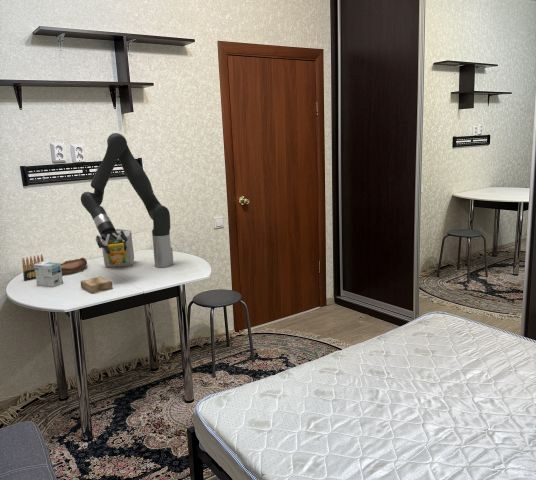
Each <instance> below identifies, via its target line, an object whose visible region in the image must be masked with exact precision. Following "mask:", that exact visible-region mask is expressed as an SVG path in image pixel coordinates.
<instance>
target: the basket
mask: <svg viewBox="0 0 536 480" xmlns="http://www.w3.org/2000/svg"><path fill="white" fill-rule="evenodd" d="M87 265H88V261H87V258H86V257H81V258H76V259H71V260H70V259H69V260H66V261H63V263H61V271H62V276H63V275H70V274H75V273H77V272H79V271H82V270H83V269H85V268H86V267H87Z"/></svg>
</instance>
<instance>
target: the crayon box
mask: <svg viewBox="0 0 536 480" xmlns="http://www.w3.org/2000/svg"><path fill="white" fill-rule="evenodd" d="M112 241H118V242H116V243H114V242H113V243H112ZM108 247H109V249H110V254H109V263H110V265H114V264H121V263H126V262H125V252H124V244H123V239H118V240H109V241H108Z"/></svg>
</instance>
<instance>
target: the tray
mask: <svg viewBox="0 0 536 480" xmlns="http://www.w3.org/2000/svg"><path fill="white" fill-rule="evenodd" d="M79 282H80V288H81V289H83V290H84V291H85V292H88V293H90V294H91V295H92V294H96V293H100V292H104V291H108V290H112V289H113V283H112V281H111V280H110V279H107V278H104V277H102V276H100V275H99V276H97V277H92V278H87V279H83V280H80V281H79Z"/></svg>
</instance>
